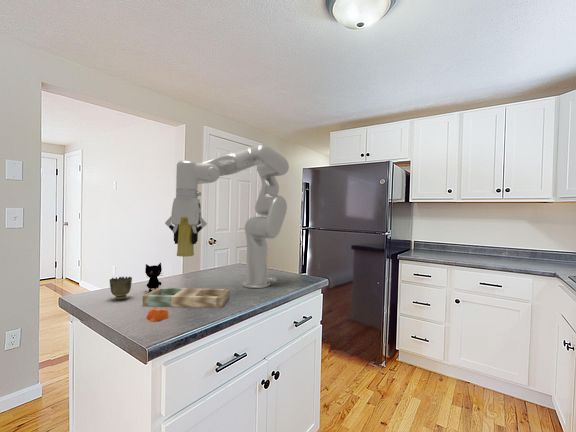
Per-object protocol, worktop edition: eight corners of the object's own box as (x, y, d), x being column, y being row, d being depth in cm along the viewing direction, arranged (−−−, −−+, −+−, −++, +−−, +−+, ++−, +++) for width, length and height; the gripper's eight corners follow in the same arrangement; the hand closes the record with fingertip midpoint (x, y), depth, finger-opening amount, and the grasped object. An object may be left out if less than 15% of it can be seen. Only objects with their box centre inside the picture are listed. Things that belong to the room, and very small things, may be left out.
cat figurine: (146, 295, 116) (147, 265, 116) (141, 291, 121) (141, 262, 121) (164, 292, 121) (165, 263, 121) (159, 288, 126) (159, 261, 126)
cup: (111, 297, 112) (111, 276, 112) (132, 295, 115) (132, 275, 115) (107, 303, 105) (107, 281, 105) (130, 301, 108) (131, 279, 108)
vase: (192, 256, 106) (193, 217, 106) (175, 256, 105) (176, 216, 105) (194, 254, 112) (195, 217, 112) (178, 254, 111) (178, 216, 111)
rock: (160, 311, 100) (160, 298, 100) (185, 318, 94) (186, 304, 94) (127, 322, 90) (127, 308, 90) (152, 330, 84) (153, 315, 84)
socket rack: (229, 297, 114) (229, 289, 114) (221, 307, 102) (221, 297, 102) (158, 296, 115) (158, 287, 115) (142, 305, 103) (142, 296, 103)
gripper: (212, 196, 112) (211, 243, 112) (167, 195, 112) (166, 242, 112) (207, 194, 105) (206, 245, 105) (159, 193, 104) (157, 244, 105)
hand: (185, 243), depth 108 cm, fingers closed on vase, 5 cm apart
